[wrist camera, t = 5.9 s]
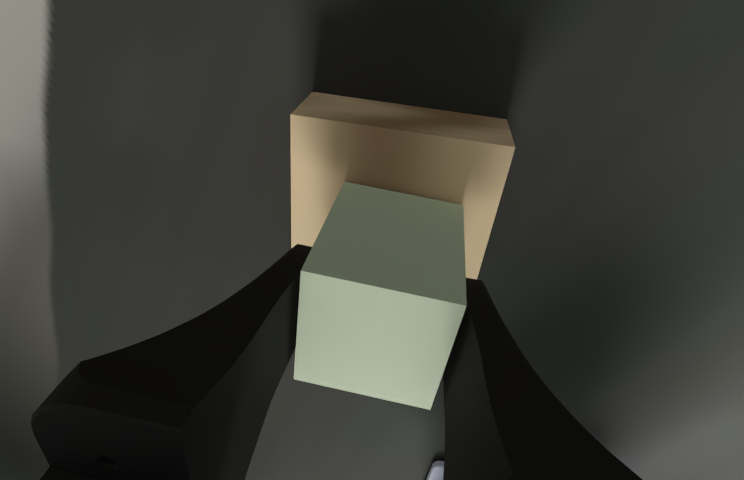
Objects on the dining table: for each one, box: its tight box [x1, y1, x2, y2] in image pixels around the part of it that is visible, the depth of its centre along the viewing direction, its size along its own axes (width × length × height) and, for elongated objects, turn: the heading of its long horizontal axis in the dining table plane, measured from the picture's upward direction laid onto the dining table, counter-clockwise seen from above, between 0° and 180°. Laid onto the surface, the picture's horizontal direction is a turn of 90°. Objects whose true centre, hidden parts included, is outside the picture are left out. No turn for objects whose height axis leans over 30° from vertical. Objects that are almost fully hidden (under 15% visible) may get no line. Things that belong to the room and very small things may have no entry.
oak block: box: [290, 92, 515, 280], centre depth 17 cm, size 7×7×3 cm
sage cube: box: [294, 181, 467, 410], centre depth 14 cm, size 4×4×5 cm
